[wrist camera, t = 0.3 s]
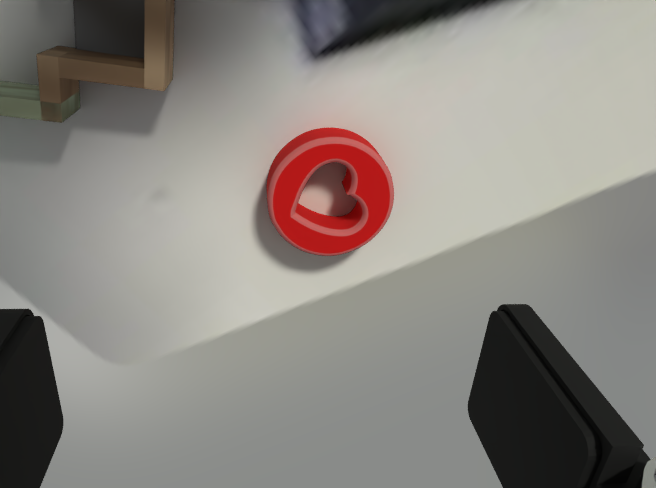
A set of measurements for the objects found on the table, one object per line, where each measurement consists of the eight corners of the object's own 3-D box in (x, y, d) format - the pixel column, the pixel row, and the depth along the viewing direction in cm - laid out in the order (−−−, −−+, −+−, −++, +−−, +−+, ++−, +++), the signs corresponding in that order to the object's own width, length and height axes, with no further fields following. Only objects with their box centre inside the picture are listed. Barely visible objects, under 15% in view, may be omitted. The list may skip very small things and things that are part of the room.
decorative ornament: (241, 184, 42) (240, 199, 39) (334, 100, 40) (340, 110, 37) (321, 260, 46) (325, 279, 43) (409, 188, 44) (419, 203, 41)
